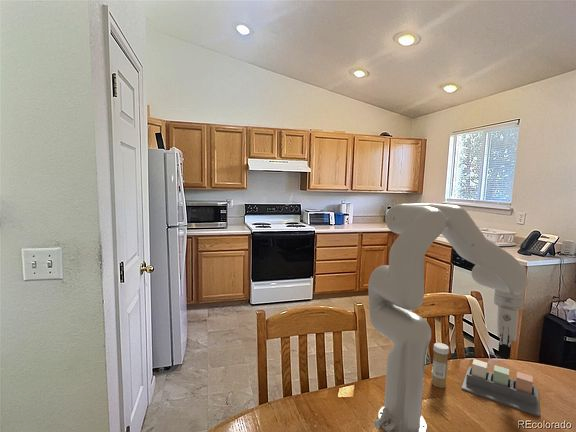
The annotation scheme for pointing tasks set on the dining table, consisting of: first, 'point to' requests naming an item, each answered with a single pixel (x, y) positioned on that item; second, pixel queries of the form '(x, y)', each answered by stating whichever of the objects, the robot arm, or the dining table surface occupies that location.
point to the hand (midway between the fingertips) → (504, 355)
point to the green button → (501, 375)
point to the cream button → (479, 369)
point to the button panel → (502, 392)
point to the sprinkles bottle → (440, 365)
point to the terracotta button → (524, 383)
